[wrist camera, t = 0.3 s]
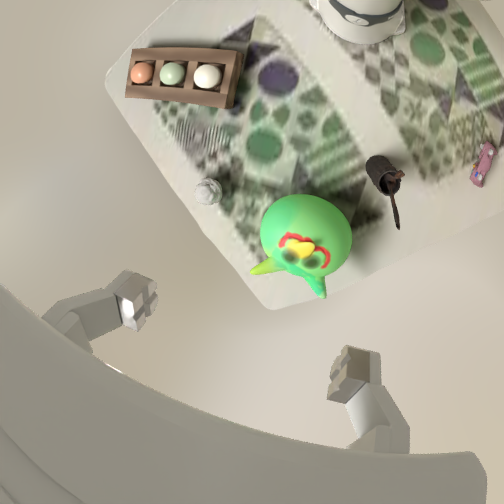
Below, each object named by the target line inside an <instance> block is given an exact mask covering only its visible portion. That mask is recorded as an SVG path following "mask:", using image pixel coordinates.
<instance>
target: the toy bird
mask: <svg viewBox="0 0 504 504" xmlns="http://www.w3.org/2000/svg"><path fill="white" fill-rule="evenodd" d="M260 238H261V243H262V246H263V249H264V251H265V252H266V254H267V256H268V257H269V258H267V259H266V260H264V261H263V262H261V263H260V264H258V265H257V266H255V267H254V268H253V269H251V270H250V273H251V274H253V275H259V274H266V273H272V272H277V271H284V270H285V271H287V272H289V273H291V274H294V275H297V276H301V277H303V278H304V279H305V280H306V281H307V283H308V284H309V285H310V287H311V288H312V289H313V290H314V292H315V293H316V294H317V295H318V296H319V297H320V298H322V299H325V298H326V295H327V294H326V286H325V276H326V275H329V274H331V273H333V272H334V271H336V270H337V269H338V268H339V267H340V266H341V265H342V264H343V263H344V262H345V260H346V259H347V257H348V255H349V253H350V250H351V246H352V231H351V227H350V225H349V222H348V220H347V219H346V217H345V216H344V215H343V213H342V212H341V211H340V210H339V209H338V208H337V207H335V206H334V205H333V204H331V203H330V202H328V201H326V200H324V199H322V198H319V197H316V196H312V195H307V194H293V195H288V196H285V197H283V198H281V199H279V200H277V201H276V202H275V203H273V204H272V205H271V206H270V207H269V209H268V210H267V212H266V213H265V215H264V217H263V220H262V223H261V228H260Z"/></svg>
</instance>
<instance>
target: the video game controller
mask: <svg viewBox="0 0 504 504" xmlns="http://www.w3.org/2000/svg"><path fill="white" fill-rule="evenodd" d="M482 144H483V143H482ZM482 144H481V145H480V148H481V149H482V150H481V152H480V155H479V157H478V158H479V159H480V161H479V163H477V162H476V164H474V165H473V170H472V172H471V176H470V179H471V180H472V182H473V183H474V184H475V185H476V186H478V187H481V188H482V187H483V183H482V180H483V179H484V177H485V175H486V173H487V172H488V171H489V169H490V167H491V162H492V159H493V156H494V155H497V151H496V149H495V148H494V146H493V145H492V144H491V143H489V142H488V141H486V142H485V144H483V145H482Z"/></svg>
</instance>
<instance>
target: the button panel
mask: <svg viewBox="0 0 504 504" xmlns="http://www.w3.org/2000/svg"><path fill="white" fill-rule="evenodd" d="M243 58H244V54H242V53H240V52H238V51H232V50H222V49H209V48H185V47H164V48H140V49H132V54H131V59H130V65H129V71H128V78H127V84H126V92H125V98H142V99H155V100H166V101H175V102H183V103H191V104H198V105H204V106H211V107H217V108H222V109H230V108H233V104H234V99H235V94H236V89H237V85H238V80H239V76H240V71H241V67H242V63H243ZM137 63H150V64H152V65H153V66H154V69H155V71H154V76H153V78H152V79H151V81H149V82H147V83H135V82H133V81H132V79H131V70H132V68H133V67H134V66H135V65H136V64H137ZM167 63H178V64H182V65H183V66H184V67H185V69H186V77H185V79H184V80H183V81H182V82H181V83H180V84H177V85H169V84H164V83H163V82H162V81H161V79H160V71H161V69H162V67H163V66H164V65H165V64H167ZM202 65H212V66H215V67H218V68H219V69H220V70H221V72H222V80H221V82H220V84H219V85H218V86H216V87H214V88H201V87H199V86H197V85H196V83H195V81H194V73H195V71H196V70H197V69H198V68H199V67H200V66H202Z"/></svg>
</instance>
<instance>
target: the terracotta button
mask: <svg viewBox="0 0 504 504" xmlns="http://www.w3.org/2000/svg"><path fill="white" fill-rule="evenodd" d="M154 71H155V69H154V66H153V65H152V64H150V63H137V64H136V65H135V66H134V67H133V68H132V70H131V79H132V81H133V82H135V83H147V82H149V81H151V79H152V78H153V76H154Z"/></svg>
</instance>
